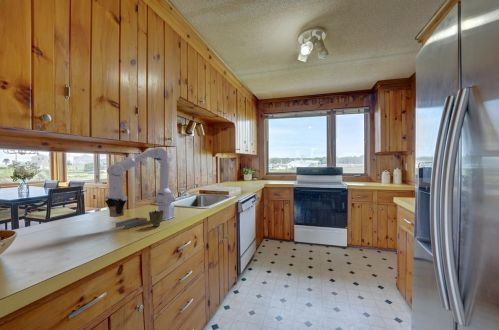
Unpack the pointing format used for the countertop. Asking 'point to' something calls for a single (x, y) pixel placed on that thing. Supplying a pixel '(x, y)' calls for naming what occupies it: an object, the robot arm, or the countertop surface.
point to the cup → (156, 217)
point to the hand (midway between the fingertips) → (116, 213)
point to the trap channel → (132, 222)
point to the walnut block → (114, 213)
